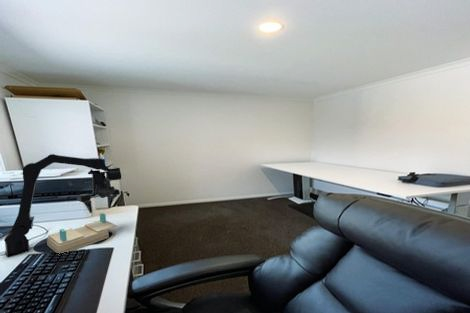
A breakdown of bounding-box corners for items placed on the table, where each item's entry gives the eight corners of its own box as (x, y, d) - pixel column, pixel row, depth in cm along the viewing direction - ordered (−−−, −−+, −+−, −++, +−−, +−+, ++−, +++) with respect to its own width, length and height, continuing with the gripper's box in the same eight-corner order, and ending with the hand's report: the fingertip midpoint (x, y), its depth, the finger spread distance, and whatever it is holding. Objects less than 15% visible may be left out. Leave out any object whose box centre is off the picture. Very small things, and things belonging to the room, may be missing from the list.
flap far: (97, 232, 103) (96, 222, 103) (84, 225, 111) (84, 216, 111) (116, 226, 110) (116, 216, 110) (103, 220, 119) (102, 211, 118)
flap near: (59, 244, 91) (58, 233, 90) (48, 236, 99) (47, 225, 99) (84, 236, 98) (83, 226, 98) (71, 229, 107) (71, 219, 106)
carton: (59, 255, 90) (58, 246, 90) (47, 245, 99) (46, 237, 99) (108, 237, 107) (108, 229, 106) (94, 230, 116) (94, 223, 116)
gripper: (85, 186, 100) (87, 218, 101) (124, 180, 115) (125, 208, 116) (75, 184, 106) (77, 214, 107) (114, 178, 121) (115, 205, 122)
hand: (100, 210), depth 113 cm, fingers open, 9 cm apart
